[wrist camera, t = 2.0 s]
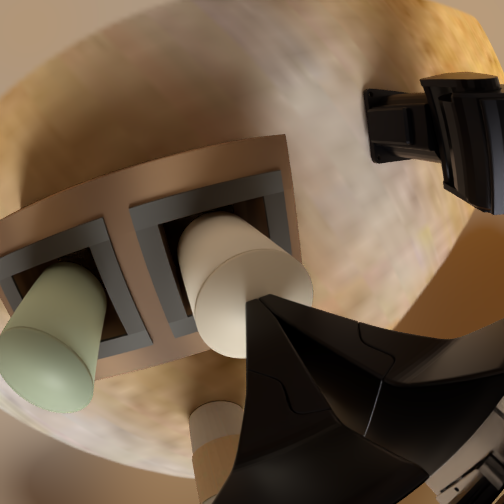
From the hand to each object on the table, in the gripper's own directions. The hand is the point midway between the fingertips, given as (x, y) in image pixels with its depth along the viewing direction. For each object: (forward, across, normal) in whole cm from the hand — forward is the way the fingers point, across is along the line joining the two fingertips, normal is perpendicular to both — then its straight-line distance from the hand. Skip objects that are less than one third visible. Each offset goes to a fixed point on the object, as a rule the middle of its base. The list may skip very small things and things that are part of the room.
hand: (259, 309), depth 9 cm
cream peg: (+6, 0, 0) cm, 6 cm away
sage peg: (+6, +8, 0) cm, 10 cm away
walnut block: (+11, +4, 0) cm, 11 cm away
